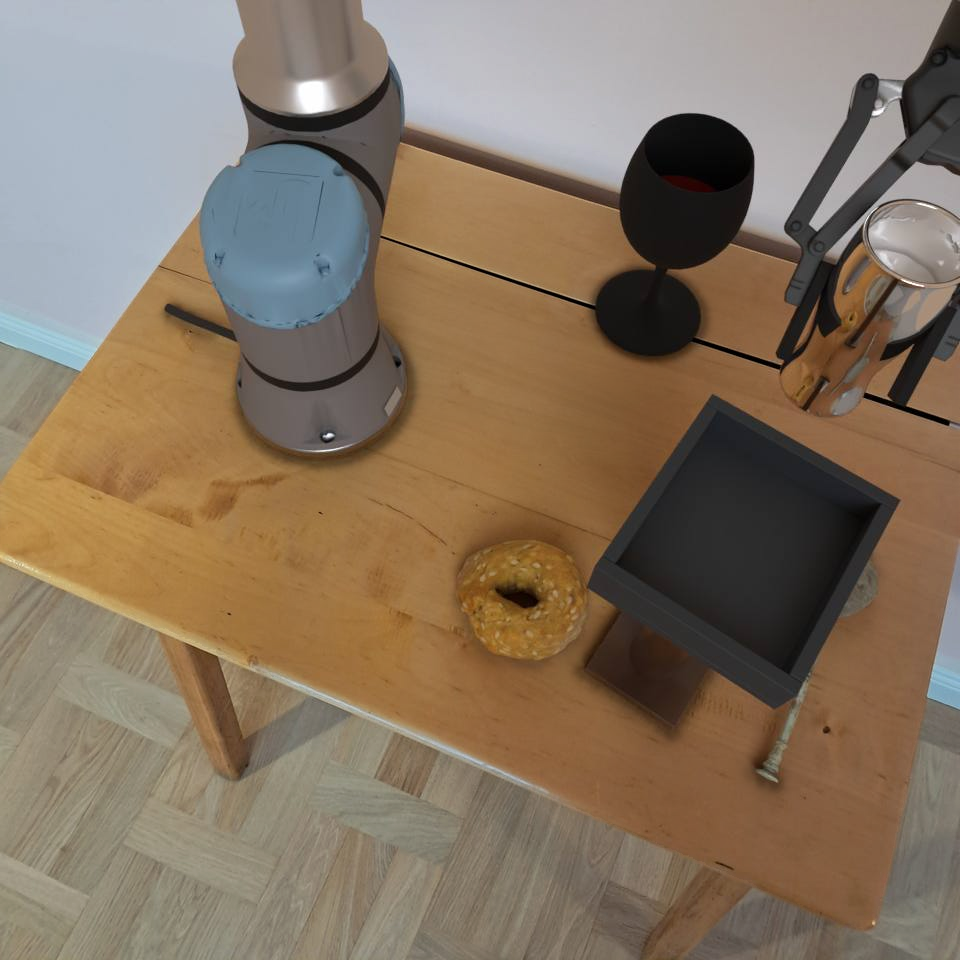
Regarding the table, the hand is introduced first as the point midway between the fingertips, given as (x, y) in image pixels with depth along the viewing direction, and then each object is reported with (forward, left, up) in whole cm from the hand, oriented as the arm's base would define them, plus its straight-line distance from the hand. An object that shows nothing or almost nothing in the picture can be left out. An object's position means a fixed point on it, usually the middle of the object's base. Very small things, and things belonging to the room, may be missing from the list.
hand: (838, 378), depth 57 cm
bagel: (-11, -18, -21) cm, 30 cm away
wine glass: (-17, +13, -21) cm, 31 cm away
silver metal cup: (-1, +3, -6) cm, 7 cm away
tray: (0, -16, +2) cm, 16 cm away
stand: (0, -16, -21) cm, 26 cm away
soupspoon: (+10, -8, -21) cm, 25 cm away
